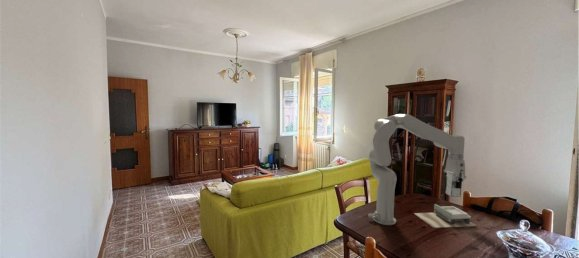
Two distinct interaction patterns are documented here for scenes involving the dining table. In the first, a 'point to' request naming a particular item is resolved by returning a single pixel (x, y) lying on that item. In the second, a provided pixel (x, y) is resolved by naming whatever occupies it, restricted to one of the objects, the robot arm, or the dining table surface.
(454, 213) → the pale grey flat box
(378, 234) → the dining table surface
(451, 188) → the syrup box
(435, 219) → the cream tray
